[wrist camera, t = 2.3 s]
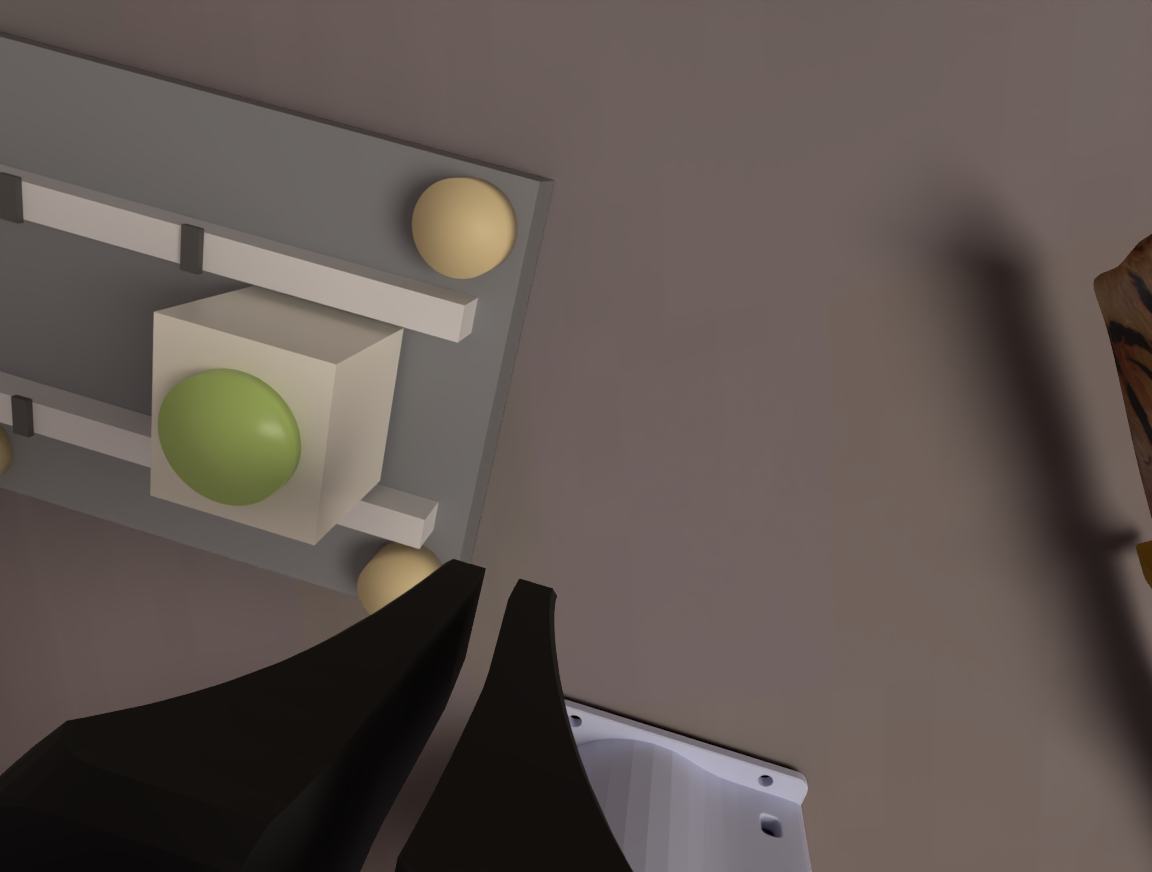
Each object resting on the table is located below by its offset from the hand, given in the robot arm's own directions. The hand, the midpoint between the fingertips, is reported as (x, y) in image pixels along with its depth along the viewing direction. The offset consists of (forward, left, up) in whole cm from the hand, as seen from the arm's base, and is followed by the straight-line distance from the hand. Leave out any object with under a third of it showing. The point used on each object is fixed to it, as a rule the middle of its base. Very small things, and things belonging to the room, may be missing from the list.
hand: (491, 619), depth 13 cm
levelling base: (+11, 0, -10) cm, 15 cm away
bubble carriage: (+7, 0, -8) cm, 11 cm away
